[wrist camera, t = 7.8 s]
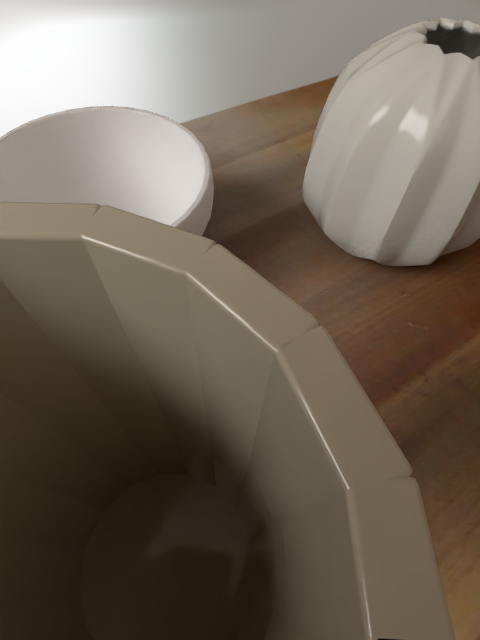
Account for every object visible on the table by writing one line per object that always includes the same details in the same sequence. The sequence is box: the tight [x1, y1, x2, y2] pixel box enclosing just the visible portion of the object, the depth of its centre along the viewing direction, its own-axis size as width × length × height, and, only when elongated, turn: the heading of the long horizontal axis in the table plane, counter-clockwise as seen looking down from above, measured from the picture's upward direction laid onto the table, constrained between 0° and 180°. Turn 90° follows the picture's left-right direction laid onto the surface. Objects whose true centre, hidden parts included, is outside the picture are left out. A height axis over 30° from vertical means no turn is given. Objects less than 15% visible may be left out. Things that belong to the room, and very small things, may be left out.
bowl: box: [0, 106, 214, 236], centre depth 25 cm, size 14×14×8 cm
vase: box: [303, 18, 480, 266], centre depth 26 cm, size 14×14×13 cm
